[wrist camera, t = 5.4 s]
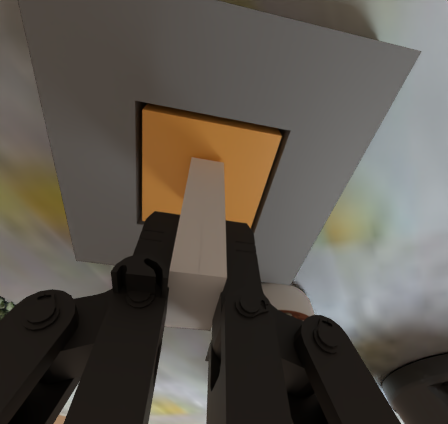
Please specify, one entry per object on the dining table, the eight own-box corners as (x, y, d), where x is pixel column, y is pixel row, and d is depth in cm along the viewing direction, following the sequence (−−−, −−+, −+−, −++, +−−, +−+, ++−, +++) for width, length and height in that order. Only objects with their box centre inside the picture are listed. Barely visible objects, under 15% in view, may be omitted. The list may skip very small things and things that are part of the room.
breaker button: (272, 117, 13) (282, 136, 11) (244, 209, 17) (248, 235, 15) (154, 94, 13) (142, 109, 11) (151, 195, 16) (142, 220, 14)
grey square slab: (381, 43, 12) (421, 51, 9) (282, 253, 20) (290, 285, 18) (56, -37, 10) (6, -53, 8) (94, 228, 18) (76, 260, 16)
